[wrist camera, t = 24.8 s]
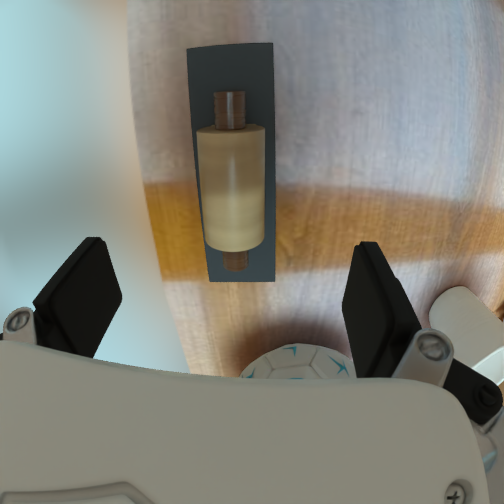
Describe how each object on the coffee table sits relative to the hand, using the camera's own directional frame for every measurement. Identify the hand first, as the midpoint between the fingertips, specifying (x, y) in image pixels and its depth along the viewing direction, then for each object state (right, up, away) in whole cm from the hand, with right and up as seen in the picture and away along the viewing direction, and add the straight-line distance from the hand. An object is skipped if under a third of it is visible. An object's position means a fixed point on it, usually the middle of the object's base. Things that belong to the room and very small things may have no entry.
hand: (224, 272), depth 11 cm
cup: (+24, -5, +18) cm, 30 cm away
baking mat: (0, +7, +11) cm, 13 cm away
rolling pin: (0, +6, +11) cm, 13 cm away
